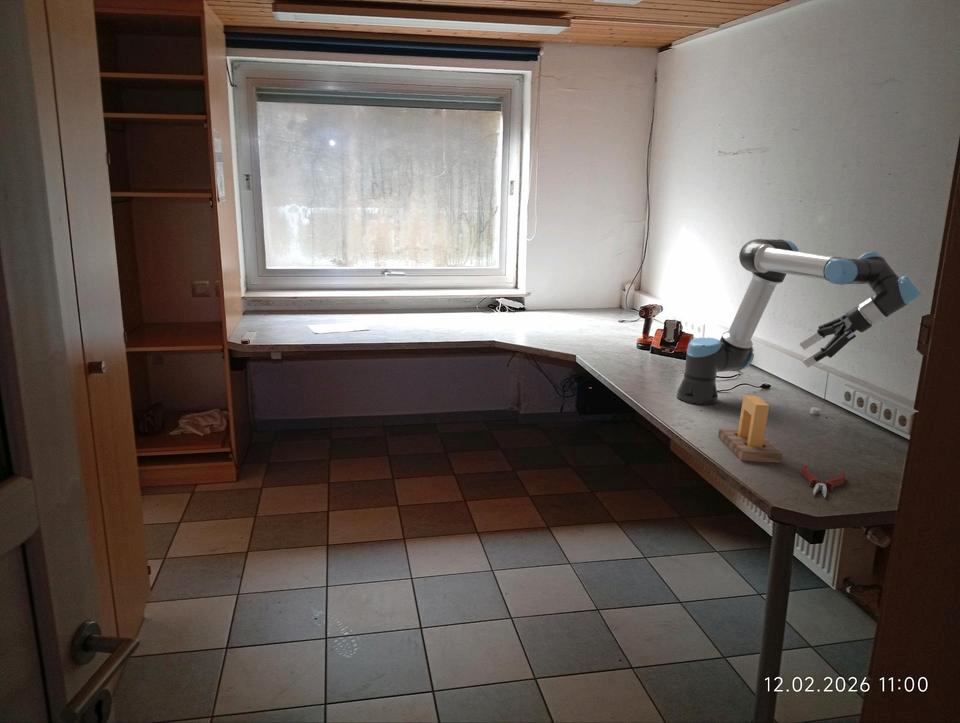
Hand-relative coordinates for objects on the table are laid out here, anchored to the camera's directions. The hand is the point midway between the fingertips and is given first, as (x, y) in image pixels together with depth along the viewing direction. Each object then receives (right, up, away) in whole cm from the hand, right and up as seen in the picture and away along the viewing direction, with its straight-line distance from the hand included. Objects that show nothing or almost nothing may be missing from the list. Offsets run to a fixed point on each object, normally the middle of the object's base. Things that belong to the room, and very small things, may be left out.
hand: (803, 355), depth 220 cm
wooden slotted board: (-20, -29, -6) cm, 36 cm away
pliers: (-10, -36, -29) cm, 48 cm away
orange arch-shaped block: (-20, -29, -6) cm, 36 cm away
